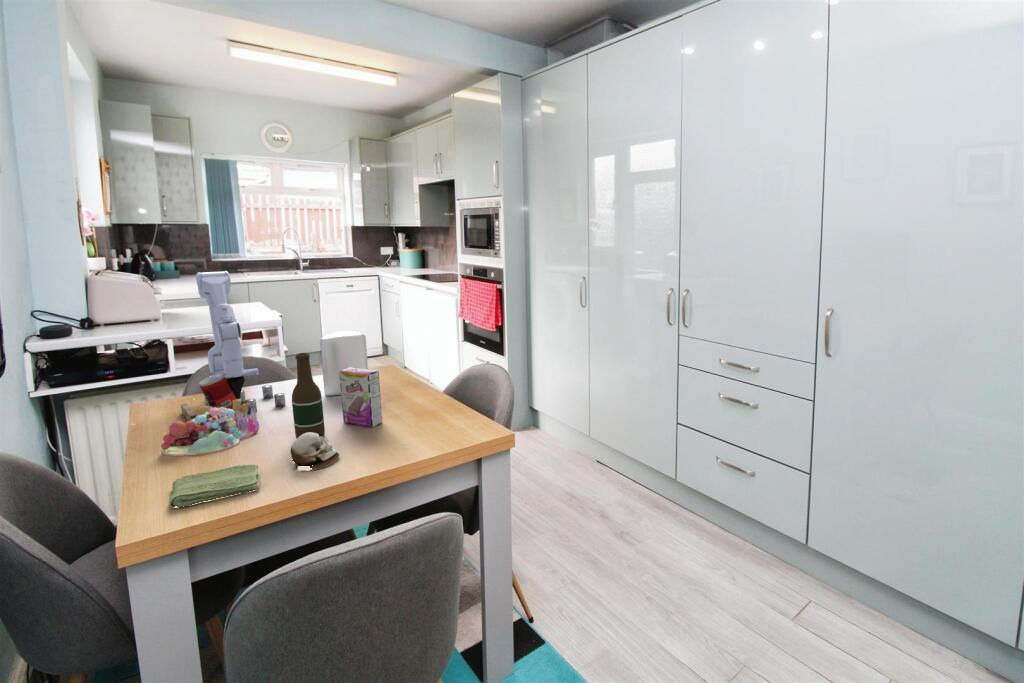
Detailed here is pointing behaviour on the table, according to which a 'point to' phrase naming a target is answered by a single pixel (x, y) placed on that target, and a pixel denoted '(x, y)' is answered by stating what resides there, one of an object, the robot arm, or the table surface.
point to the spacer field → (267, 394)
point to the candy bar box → (361, 396)
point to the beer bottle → (307, 400)
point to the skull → (313, 451)
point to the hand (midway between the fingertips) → (237, 399)
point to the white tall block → (341, 357)
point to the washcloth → (214, 485)
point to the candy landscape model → (210, 430)
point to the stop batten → (187, 412)
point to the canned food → (218, 391)
